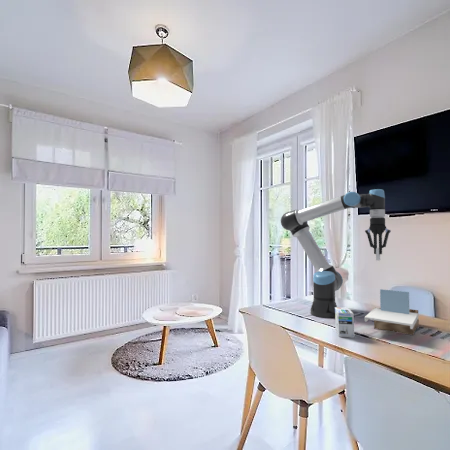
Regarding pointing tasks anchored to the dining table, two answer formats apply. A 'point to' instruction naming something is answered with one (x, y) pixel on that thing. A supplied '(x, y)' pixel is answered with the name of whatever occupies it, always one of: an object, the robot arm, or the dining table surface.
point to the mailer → (397, 326)
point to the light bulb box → (344, 322)
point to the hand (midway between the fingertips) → (378, 260)
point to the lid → (393, 309)
